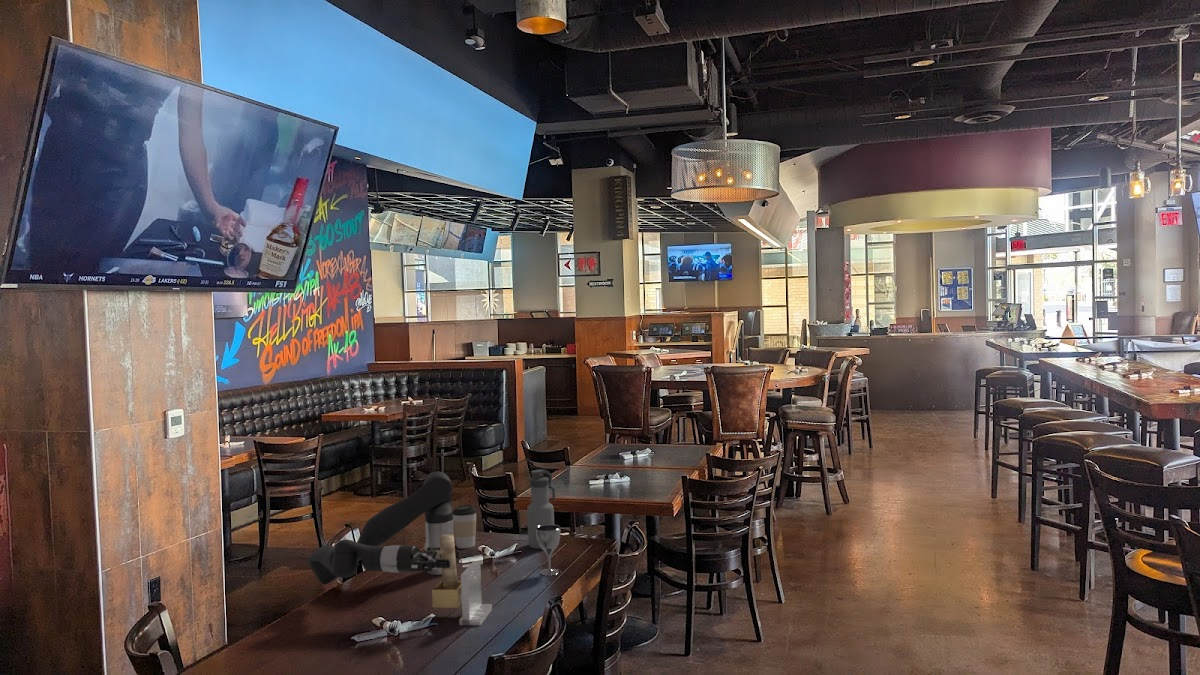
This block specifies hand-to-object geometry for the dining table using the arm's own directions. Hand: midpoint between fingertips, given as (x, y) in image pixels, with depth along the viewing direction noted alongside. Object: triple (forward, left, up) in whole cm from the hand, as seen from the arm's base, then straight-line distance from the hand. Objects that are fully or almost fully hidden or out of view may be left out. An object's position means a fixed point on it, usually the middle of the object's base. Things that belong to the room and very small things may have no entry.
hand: (454, 559), depth 219 cm
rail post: (-1, -1, -11) cm, 11 cm away
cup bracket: (+1, +1, -16) cm, 17 cm away
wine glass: (-3, +43, -17) cm, 46 cm away
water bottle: (-26, +65, -17) cm, 72 cm away
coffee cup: (-51, +50, -17) cm, 73 cm away
